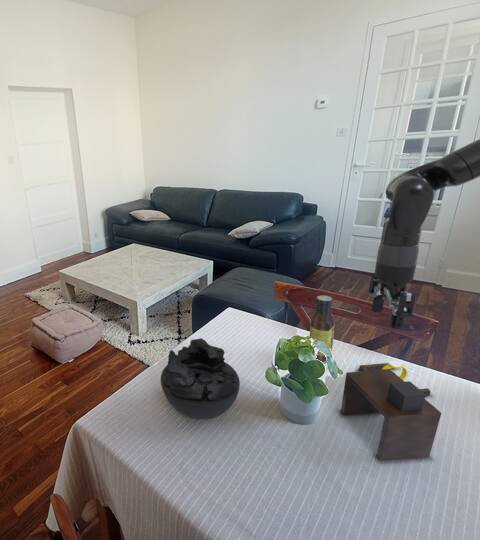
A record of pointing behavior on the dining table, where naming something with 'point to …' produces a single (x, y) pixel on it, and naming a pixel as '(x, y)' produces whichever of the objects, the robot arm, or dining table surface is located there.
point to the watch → (396, 366)
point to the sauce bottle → (323, 323)
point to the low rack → (380, 367)
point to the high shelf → (391, 415)
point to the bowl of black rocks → (200, 381)
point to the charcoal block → (406, 396)
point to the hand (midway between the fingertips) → (385, 319)
